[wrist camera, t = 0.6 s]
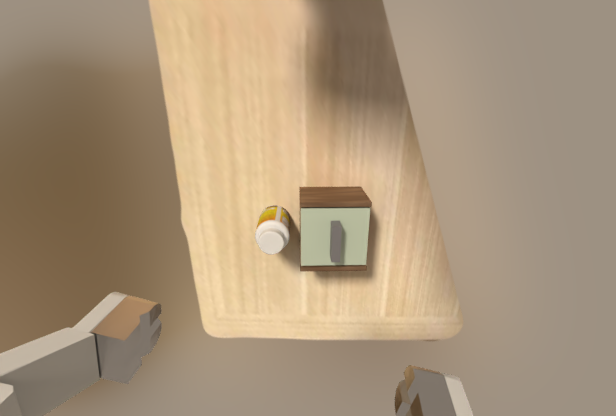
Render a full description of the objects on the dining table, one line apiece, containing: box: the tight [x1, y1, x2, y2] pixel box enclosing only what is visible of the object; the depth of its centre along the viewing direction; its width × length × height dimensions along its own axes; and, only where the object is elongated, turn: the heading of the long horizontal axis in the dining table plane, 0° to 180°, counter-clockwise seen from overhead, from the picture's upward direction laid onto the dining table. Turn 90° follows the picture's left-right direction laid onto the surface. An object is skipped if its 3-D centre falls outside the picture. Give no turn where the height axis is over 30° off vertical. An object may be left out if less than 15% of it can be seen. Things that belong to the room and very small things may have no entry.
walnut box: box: [300, 187, 372, 271], centre depth 54 cm, size 12×11×9 cm
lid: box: [301, 207, 370, 266], centre depth 49 cm, size 10×11×3 cm
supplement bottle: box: [255, 205, 290, 254], centre depth 53 cm, size 6×6×10 cm
